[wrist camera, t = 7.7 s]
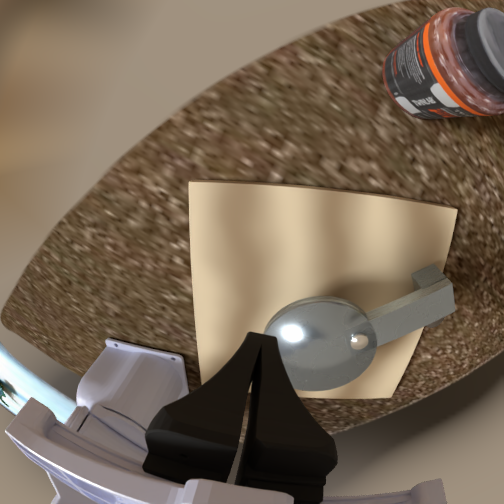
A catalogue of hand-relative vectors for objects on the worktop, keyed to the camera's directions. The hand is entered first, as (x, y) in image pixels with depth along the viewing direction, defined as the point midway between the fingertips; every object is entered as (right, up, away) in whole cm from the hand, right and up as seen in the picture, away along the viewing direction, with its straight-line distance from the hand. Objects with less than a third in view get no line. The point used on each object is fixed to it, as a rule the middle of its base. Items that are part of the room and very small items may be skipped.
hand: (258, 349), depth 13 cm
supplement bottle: (+12, +17, +2) cm, 21 cm away
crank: (+7, 0, +7) cm, 10 cm away
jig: (+5, 0, +10) cm, 11 cm away
